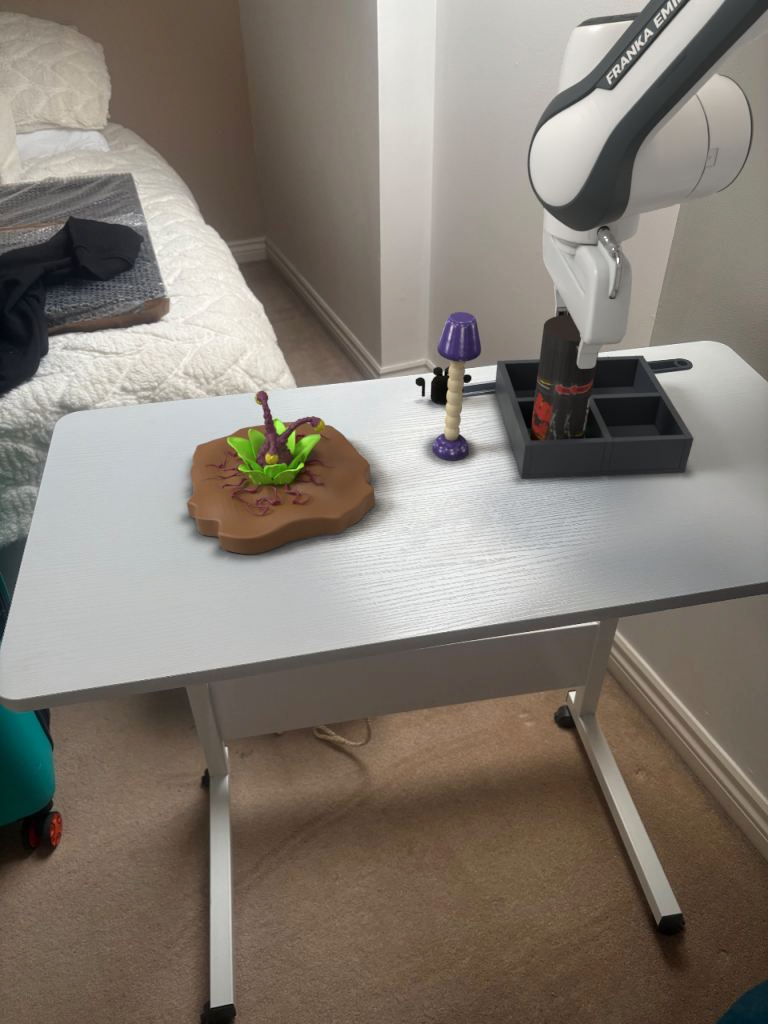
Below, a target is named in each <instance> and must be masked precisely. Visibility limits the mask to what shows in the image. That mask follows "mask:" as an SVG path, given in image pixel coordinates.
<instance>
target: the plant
mask: <svg viewBox="0 0 768 1024" xmlns="http://www.w3.org/2000/svg"><path fill="white" fill-rule="evenodd" d="M254 401H255V403H256V404H257V405H259V406H261V407H262V412H263V415H262V417H263V419H264V423H263V424H261V425H260V424H258V425H254V426H253V425H252V426H246V427H241V428H240V429H238V430H236V431H234V432H232V433H231V434H229V435H226V436H223V437H219V438H215V439H212V440H209V441H207V442H204V443H201V444H197V445H196V448H195V450H194V453H193V454H192V466H191V468H190V479H191V485H192V489H193V493H192V495H191V497H190V498H189V499H188V500H187V502H186V506H187V510H188V515H189V517H190V518H193V519H194V520H195V521H196V526H197V530H198V533H199V534H201V535H203V536H206V537H215V538H218V542H219V546H220V548H221V549H222V550H224V551H228V552H231V553H236V554H244V555H245V554H246V555H253V554H260V553H265V552H268V551H271V550H273V549H276V548H279V547H281V546H283V545H286V544H288V543H291V542H294V541H298V540H302V539H307V538H311V537H317V536H320V535H329V534H330V535H331V534H339V533H342V532H344V531H345V530H346V529H347V528H349V527H351V526H353V525H355V524H356V523H358V522H359V521H360V520H361V519H363V517H364V515H365V514H366V513H367V512H369V511H370V510H371V509H373V508H374V507H375V506H376V492H375V491H376V490H375V489H374V488H373V487H372V486H371V485H370V482H371V479H372V472H371V470H372V469H371V465H370V463H369V461H368V460H367V459H366V458H365V457H364V456H363V455H362V454H361V453H360V452H359V451H358V449H356V447H355V446H354V445H353V444H352V442H350V440H349V439H348V438H347V437H346V436H345V435H344V434H343V433H342V432H341V431H340V430H338V429H337V428H335V427H334V426H332V425H330V424H326V423H325V421H324V419H322V418H320V417H318V416H315V415H313V416H306V417H302V418H298V419H296V420H295V421H286V422H282V421H281V420H280V419H279V418H277V417H275V418H273V414H272V413H271V412H272V411H271V409H270V407H269V403H268V401H269V395H268V392H266V391H265V390H259V391H257V392H256V393H255V395H254Z"/></svg>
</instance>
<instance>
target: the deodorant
mask: <svg viewBox="0 0 768 1024" xmlns="http://www.w3.org/2000/svg"><path fill="white" fill-rule="evenodd" d="M580 341H581V337H580V332H579V330H578V328H577V326H576V324H575V322H574V321H573V319H572V317H571V315H561V316H556V317H554V316H552V317H550V318H548V319H547V320H545V322H544V323H543V329H542V336H541V344H540V352H539V353H540V354H539V359H540V361H539V369H538V377H537V385H536V393H535V401H534V409H533V418H532V426H531V434H530V439H531V441H538V440H563V439H584V434H585V428H586V422H587V416H588V410H589V405H590V399H591V393H592V387H593V381H594V376H595V370H596V365H595V367H593V368H590V369H580V368H579V367H578V365H577V363H576V361H575V355H576V346H579V345H580ZM598 357H599V353H598V354H597V358H598ZM596 364H597V360H596Z"/></svg>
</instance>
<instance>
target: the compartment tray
mask: <svg viewBox="0 0 768 1024" xmlns="http://www.w3.org/2000/svg"><path fill="white" fill-rule="evenodd" d="M539 361H540V358H538V359H512V360H511V359H510V360H509V359H508V360H507V359H505V360H497V361H496V372H495V382H494V396H495V399H496V402H497V405H498V408H499V411H500V415H501V418H502V421H503V424H504V428H505V430H506V434H507V437H508V441H509V443H510V447H511V451H512V453H513V457H514V460H515V463H516V467H517V471H518V473H519V476H520V479H521V480H531V479H535V480H536V479H555V478H557V479H558V478H559V479H560V478H578V477H601V476H602V477H605V476H624V475H625V476H626V475H627V476H629V475H651V474H672V473H675V474H676V473H685V472H686V469H687V466H688V465H687V464H688V460H689V457H690V453H691V451H692V447H693V444H694V443H693V442H694V436H693V435H692V433H691V431H690V430H689V427H687V425H686V423H685V421H684V420H683V418H682V417H681V415H680V413H679V411H678V410H677V408H676V407H675V405H674V404H673V402H672V400H671V399H670V397H669V395H668V394H667V392H666V391H665V389H664V387H663V386H662V384H661V383H660V381H659V379H658V377H657V376H656V374H655V373H654V370H652V367H651V366H650V364H649V363H648V361H647V360H646V358H645V356H644V355H621V356H620V355H618V356H598V358H597V364H596V370H595V376H594V381H593V387H592V393H591V399H590V405H589V410H588V416H587V422H586V428H585V434H584V439H563V440H538V441H531V439H530V434H531V426H532V418H533V409H534V401H535V393H536V385H537V377H538V369H539Z"/></svg>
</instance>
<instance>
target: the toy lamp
mask: <svg viewBox="0 0 768 1024" xmlns="http://www.w3.org/2000/svg"><path fill="white" fill-rule="evenodd" d="M481 344H482V343H481V339H480V333H479V327H478V322H477V319H476V316H475V315H474V314H472V313H470V312H465V311H456V312H455V311H454V312H452V313H451V314H449V315H448V316H447V318H446V321H445V323H444V325H443V330H442V331H441V334H440V337H439V341H438V343H437V353H438V354H439V356H440V357H442V358H444V359H446V360H448V361H449V366H450V367H449V366H448V367H449V376H450V377H449V379H448V389H449V390H448V392H447V401H448V402H446V403H445V412H446V414H445V417H444V424H445V426H444V429H443V433H441V434H440V435H437V437H436V438H435V440H434V441H433V443H432V447H431V450H432V453H433V454H434V456H436V457H438V458H440V459H443V460H450V461H456V460H461V459H463V458H465V457H466V456H467V455H468V454H469V452H470V448H469V443H468V440H467V439H466V438H465V437H464V436H463V435H462V434H460V432H461V431H460V426H461V421H462V418H461V414H462V412H463V411H462V410H463V405H462V401H463V398H464V391H463V392H462V389H463V390H464V388H465V387H464V386H465V383H464V380H463V377H464V375H465V374H466V368H465V365H466V363H467V362H470V361H473V360H475V359H477V358H478V357H480V355H481V353H482V345H481ZM463 387H464V388H463Z"/></svg>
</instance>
